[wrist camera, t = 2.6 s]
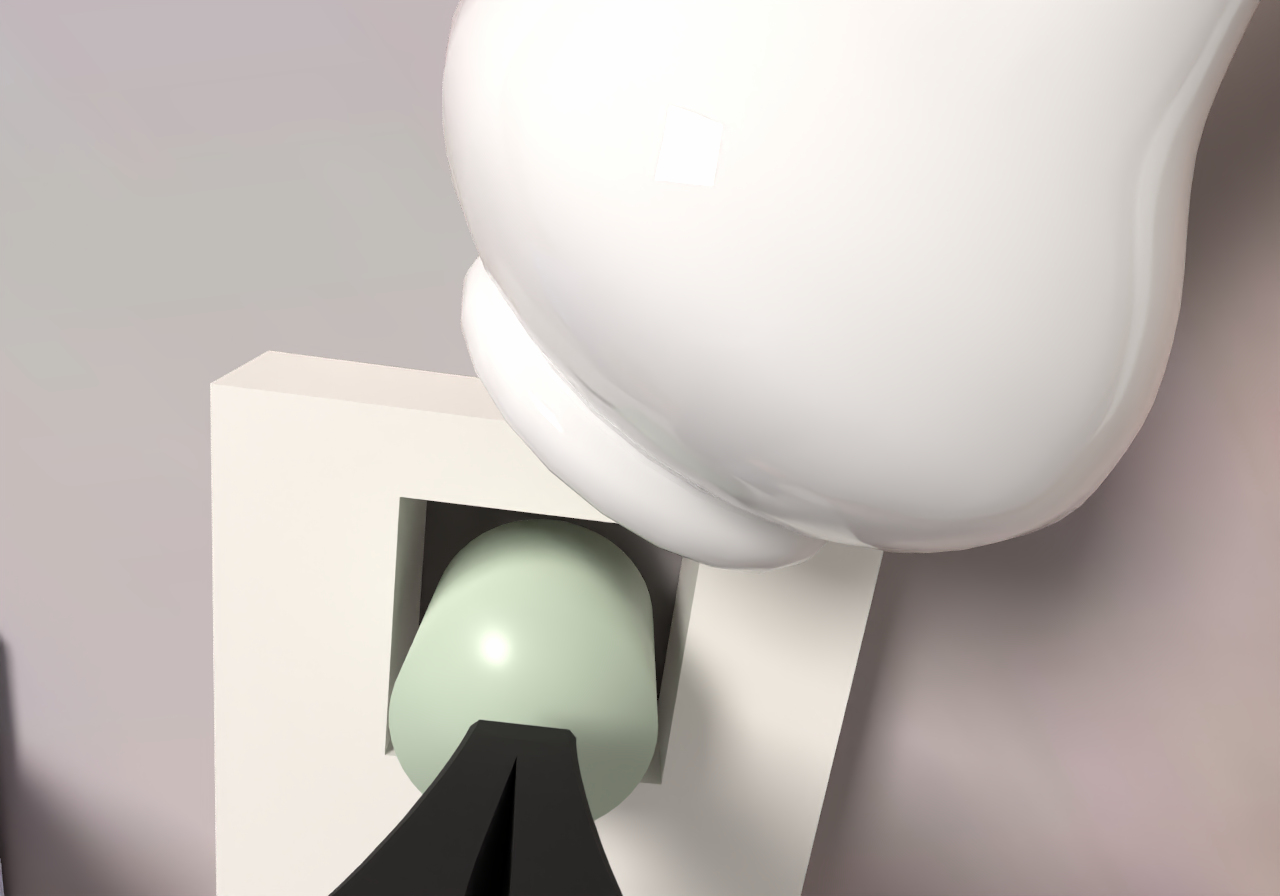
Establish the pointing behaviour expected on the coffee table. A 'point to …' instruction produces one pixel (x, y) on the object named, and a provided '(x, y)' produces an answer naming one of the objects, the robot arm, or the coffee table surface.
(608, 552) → the sage button
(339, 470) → the panel
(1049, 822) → the coffee table surface
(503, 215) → the flower vase
